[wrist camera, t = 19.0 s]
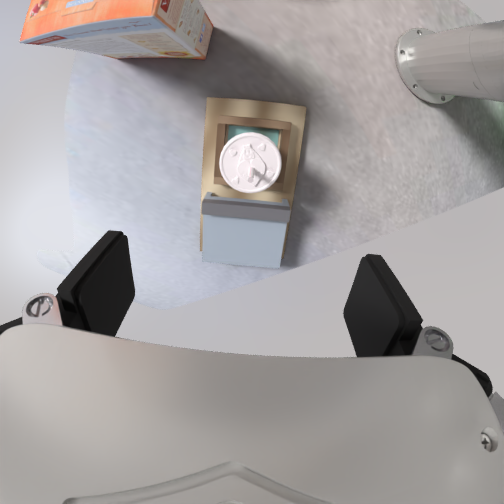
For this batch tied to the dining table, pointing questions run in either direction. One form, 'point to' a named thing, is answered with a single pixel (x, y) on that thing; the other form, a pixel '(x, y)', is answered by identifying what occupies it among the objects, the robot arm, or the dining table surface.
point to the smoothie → (250, 162)
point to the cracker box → (121, 27)
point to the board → (258, 121)
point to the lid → (243, 231)
